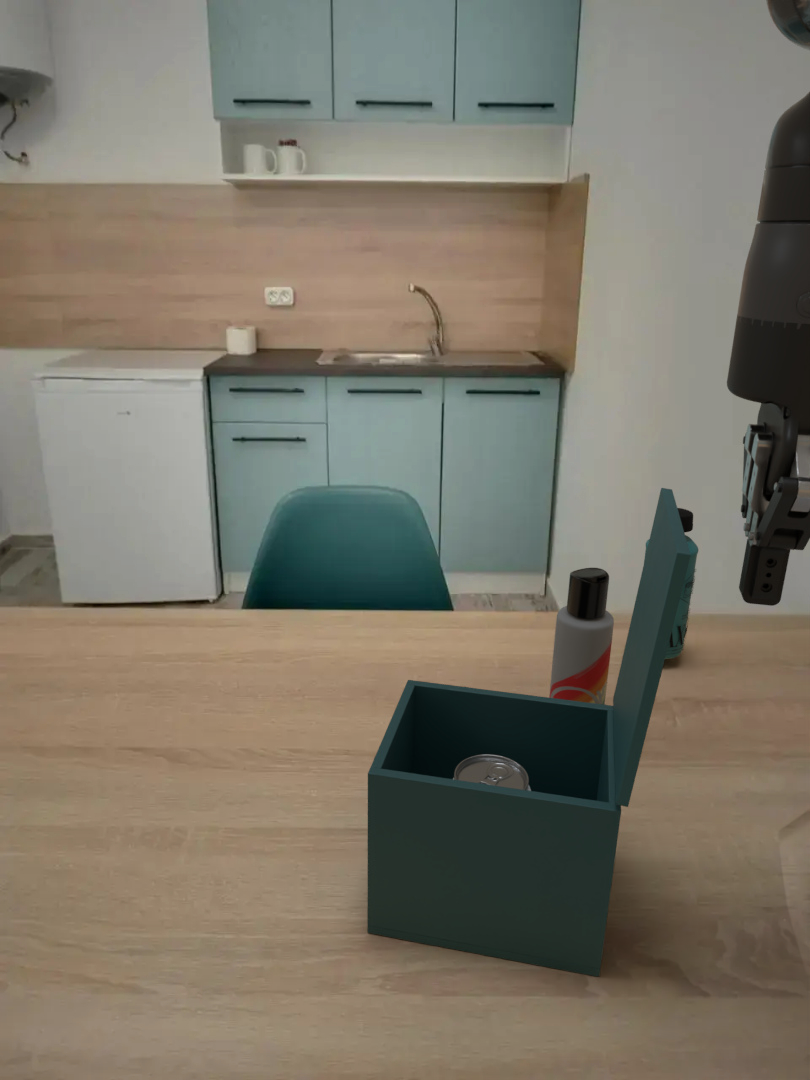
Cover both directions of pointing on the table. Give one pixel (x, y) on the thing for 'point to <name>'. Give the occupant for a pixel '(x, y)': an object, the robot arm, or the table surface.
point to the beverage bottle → (683, 591)
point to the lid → (648, 640)
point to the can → (492, 771)
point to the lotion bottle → (583, 640)
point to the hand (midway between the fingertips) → (758, 599)
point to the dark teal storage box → (494, 827)
